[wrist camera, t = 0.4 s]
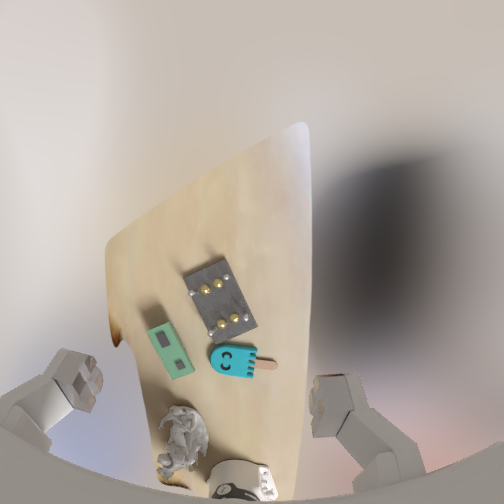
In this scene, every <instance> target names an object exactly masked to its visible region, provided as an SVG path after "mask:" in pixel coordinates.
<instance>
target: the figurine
mask: <svg viewBox="0 0 504 504" xmlns="http://www.w3.org/2000/svg"><path fill="white" fill-rule="evenodd" d="M171 419H172V422H173V426H172V427H171V428H170V438H169V440H168V444H167V445H166V446H165V448H164V449H168V452H167V453H166V454H160V455H159V456H158V461H157V462H159V463H160V464H162V465H163V468H161V467H158V468H159V469H157V472H158V473H159V474H161V475H162V477H163V478H164V480H165V477H166V482H167V480H168V478H171V477H172V476H173V474H174V471H178V470H181V469H183V468H184V467H185V466H186V465H189V471H193V465H192V464H193V463H194V462H195V461H196V463H197V460H198V453H197V451H200V452H201V453H202V454H203V456H204V457H205V456H206V451H207V448H208V441H209V435H208V433H207V430H206V426H205V422H204V420H203V418H202V417H201V415H200V414H199V412H198V411H197V410H195V409H193V408H190V407H186V406H172V407H170V409H169V414H168V415H167V416H165V417H163V419H162V420H161V422H160V426H159V427H158V430H160V429H162V428H164V427H163V426H164V424H165V422H166V421H169V420H171ZM164 430H165V428H164ZM164 449H163V450H164ZM196 458H197V460H196ZM197 465H198V463H197ZM167 483H168V482H167Z"/></svg>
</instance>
